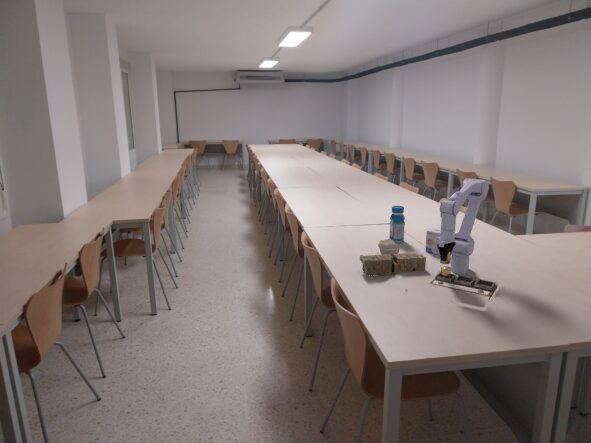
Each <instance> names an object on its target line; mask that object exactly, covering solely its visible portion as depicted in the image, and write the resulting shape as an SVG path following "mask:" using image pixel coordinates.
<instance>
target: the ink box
mask: <svg viewBox="0 0 591 443" xmlns="http://www.w3.org/2000/svg"><path fill="white" fill-rule="evenodd" d="M440 232H441V229H435V228H429V229H426V233H425V234H426V236H425V238H426V239H425V249H424V250H425V252H426V253H431V254H434V255H435V254H436V255H439V256H440V253H439V250H438V248H437V244H439V242H440V241H439V240H438V239H437V237H440Z"/></svg>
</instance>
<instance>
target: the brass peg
mask: <svg viewBox="0 0 591 443" xmlns="http://www.w3.org/2000/svg"><path fill="white" fill-rule="evenodd" d="M450 254H451V252H450V251H449V253H448V257H447V260H446V261H441V259H440V258H439V263H440V264H442V265H449V264H450V265H451V256H450ZM451 255H452V254H451Z"/></svg>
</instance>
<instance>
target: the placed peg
mask: <svg viewBox="0 0 591 443" xmlns="http://www.w3.org/2000/svg"><path fill="white" fill-rule="evenodd" d="M440 272H441V277H443V278H448V279H450V276H451V274H452V271H451V266H445V265H444V266H443V265H442V266H441V267H440Z"/></svg>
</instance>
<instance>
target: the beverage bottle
mask: <svg viewBox="0 0 591 443" xmlns="http://www.w3.org/2000/svg"><path fill="white" fill-rule="evenodd" d="M404 210H405V207H404V206H403V205H393V206H391V215H390V218H389V219H390V220H389V238H388V239H391V240H393V241H394V242H395V243H402V242H404V240H405V225H406V221H405V220H406V218H405V215H404V212H405V211H404Z"/></svg>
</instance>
